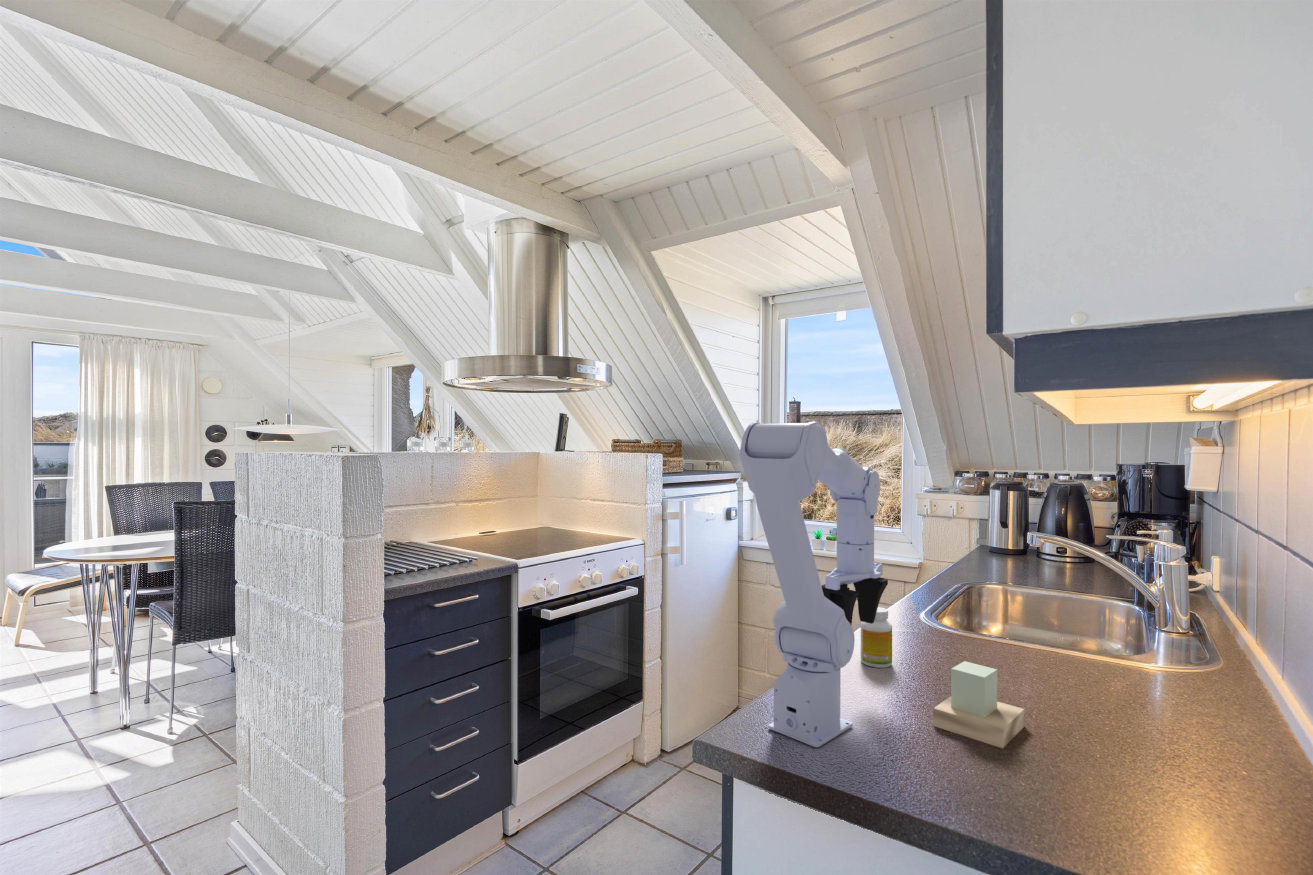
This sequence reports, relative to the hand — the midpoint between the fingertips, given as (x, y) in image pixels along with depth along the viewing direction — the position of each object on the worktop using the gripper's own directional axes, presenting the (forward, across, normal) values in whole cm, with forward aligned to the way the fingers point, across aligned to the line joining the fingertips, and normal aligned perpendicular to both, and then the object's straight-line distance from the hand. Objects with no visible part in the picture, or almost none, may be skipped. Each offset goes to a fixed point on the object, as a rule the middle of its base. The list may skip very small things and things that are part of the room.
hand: (855, 626), depth 102 cm
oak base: (+11, +2, -18) cm, 21 cm away
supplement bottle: (+11, +15, +4) cm, 19 cm away
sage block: (+8, +2, -18) cm, 19 cm away
